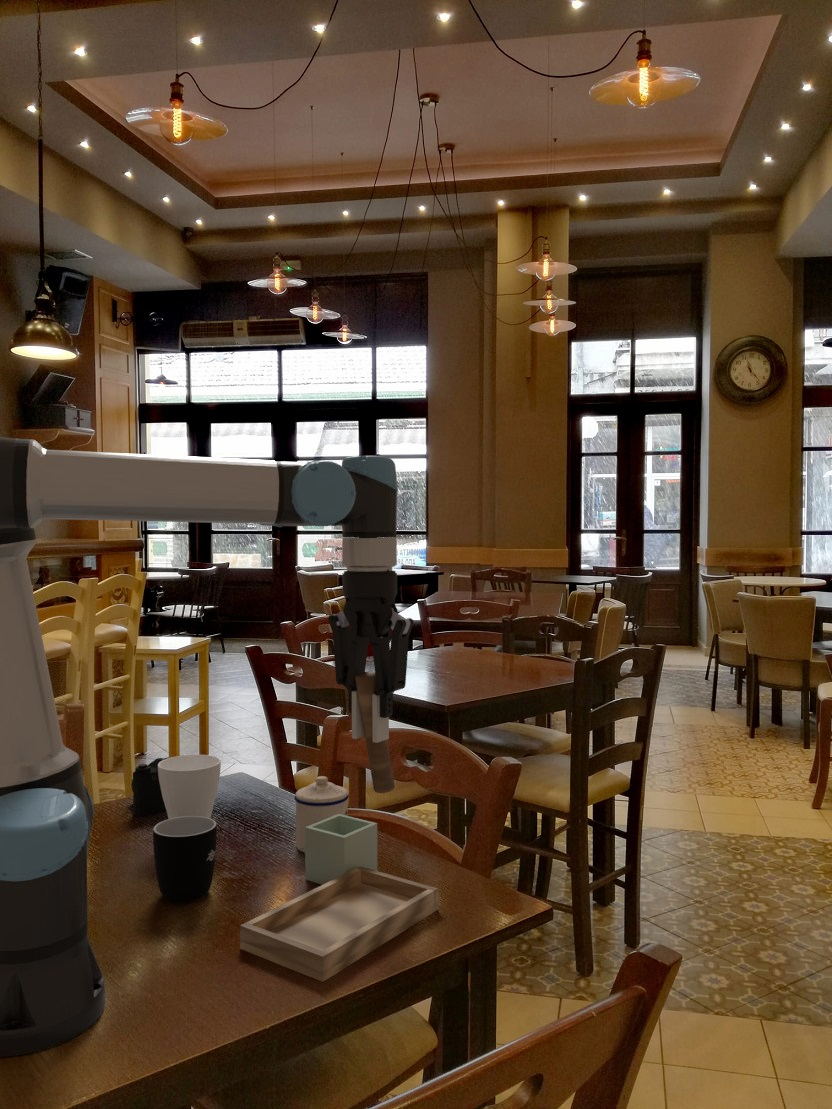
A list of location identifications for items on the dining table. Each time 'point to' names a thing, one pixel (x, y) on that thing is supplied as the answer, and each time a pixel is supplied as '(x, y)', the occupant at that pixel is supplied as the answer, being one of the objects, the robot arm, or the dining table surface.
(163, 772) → the cup
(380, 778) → the baguette
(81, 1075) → the dining table surface
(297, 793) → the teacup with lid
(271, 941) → the serving tray
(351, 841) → the pot
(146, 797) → the black teapot
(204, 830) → the mug
